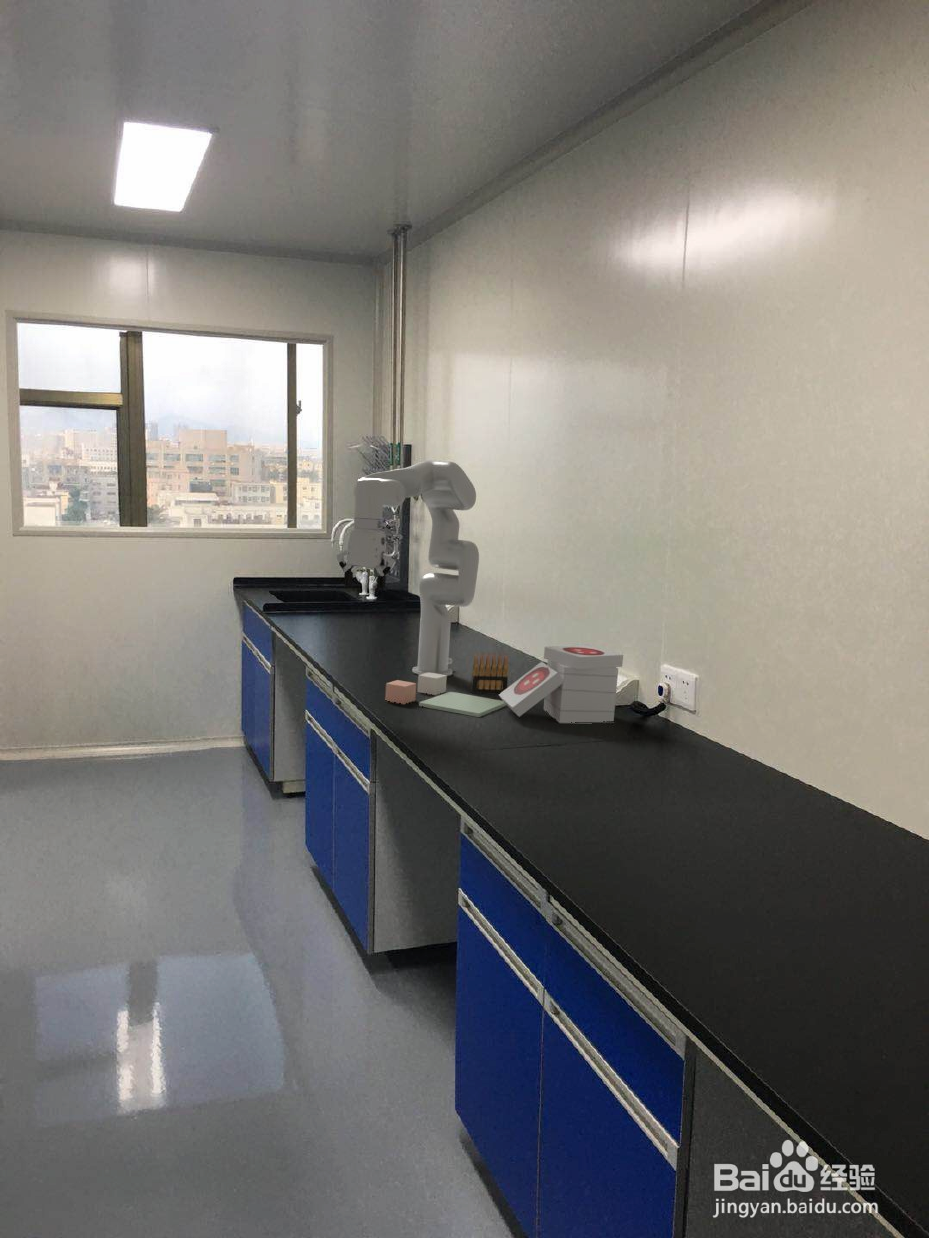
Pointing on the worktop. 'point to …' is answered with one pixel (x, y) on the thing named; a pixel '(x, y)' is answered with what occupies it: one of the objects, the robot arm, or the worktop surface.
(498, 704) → the base plate
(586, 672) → the pizza boxes
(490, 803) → the worktop surface
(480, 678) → the ammunition clip
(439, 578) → the robot arm
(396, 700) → the coral brick
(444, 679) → the cream brick
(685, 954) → the worktop surface
